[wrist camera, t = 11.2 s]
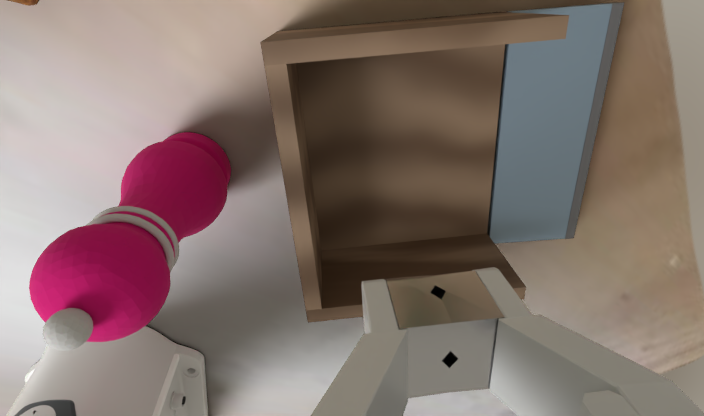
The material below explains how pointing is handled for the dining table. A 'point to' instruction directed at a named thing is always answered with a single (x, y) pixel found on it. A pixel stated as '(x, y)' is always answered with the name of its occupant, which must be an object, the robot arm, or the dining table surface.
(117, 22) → the dining table surface
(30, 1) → the decorative turtle
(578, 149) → the panel
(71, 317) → the pepper mill
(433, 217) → the box
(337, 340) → the dining table surface
